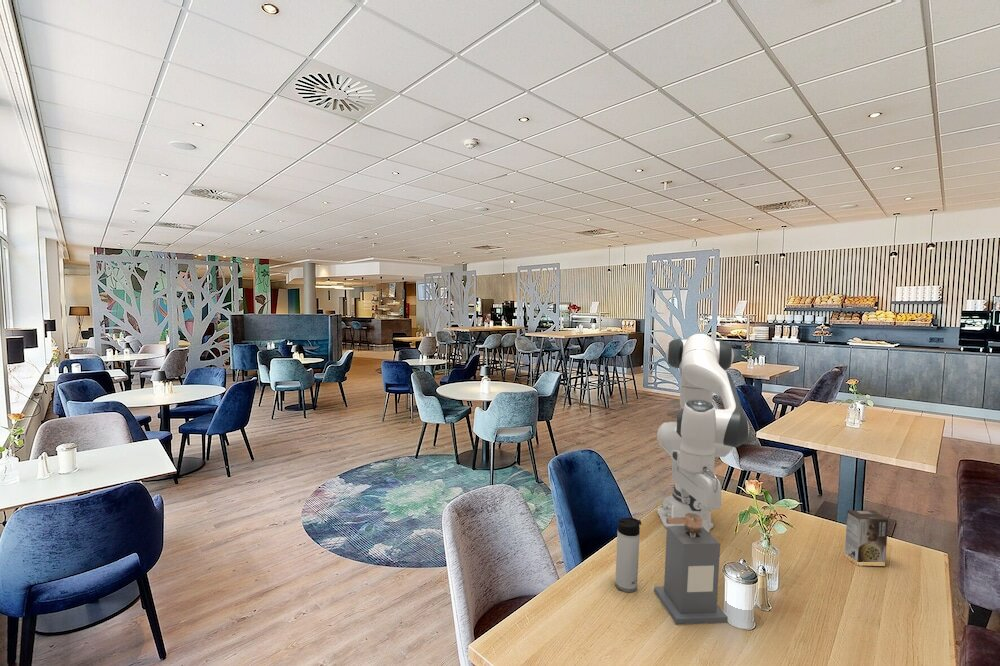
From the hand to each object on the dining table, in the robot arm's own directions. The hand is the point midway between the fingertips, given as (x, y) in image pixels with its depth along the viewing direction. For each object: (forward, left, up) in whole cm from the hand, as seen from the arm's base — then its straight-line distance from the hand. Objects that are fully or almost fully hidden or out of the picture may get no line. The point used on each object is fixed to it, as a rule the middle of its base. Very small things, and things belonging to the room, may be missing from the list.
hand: (694, 510), depth 128 cm
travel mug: (-10, -14, -27) cm, 32 cm away
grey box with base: (0, 0, -27) cm, 27 cm away
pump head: (0, -3, -21) cm, 21 cm away
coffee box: (-19, +70, -27) cm, 77 cm away
